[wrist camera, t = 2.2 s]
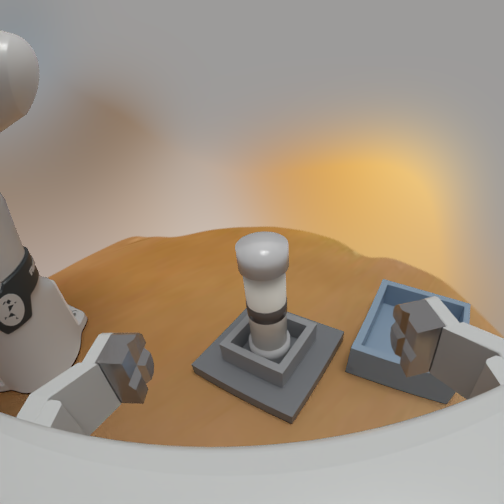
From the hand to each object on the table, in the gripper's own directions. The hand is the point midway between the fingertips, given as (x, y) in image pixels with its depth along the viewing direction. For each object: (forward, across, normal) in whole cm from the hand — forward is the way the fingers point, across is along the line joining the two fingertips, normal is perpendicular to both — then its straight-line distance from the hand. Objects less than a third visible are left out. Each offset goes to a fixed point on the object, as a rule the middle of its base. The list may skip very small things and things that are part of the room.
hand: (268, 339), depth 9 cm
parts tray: (+16, -15, +18) cm, 29 cm away
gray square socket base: (+18, +1, +18) cm, 25 cm away
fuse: (+17, +1, +16) cm, 24 cm away
